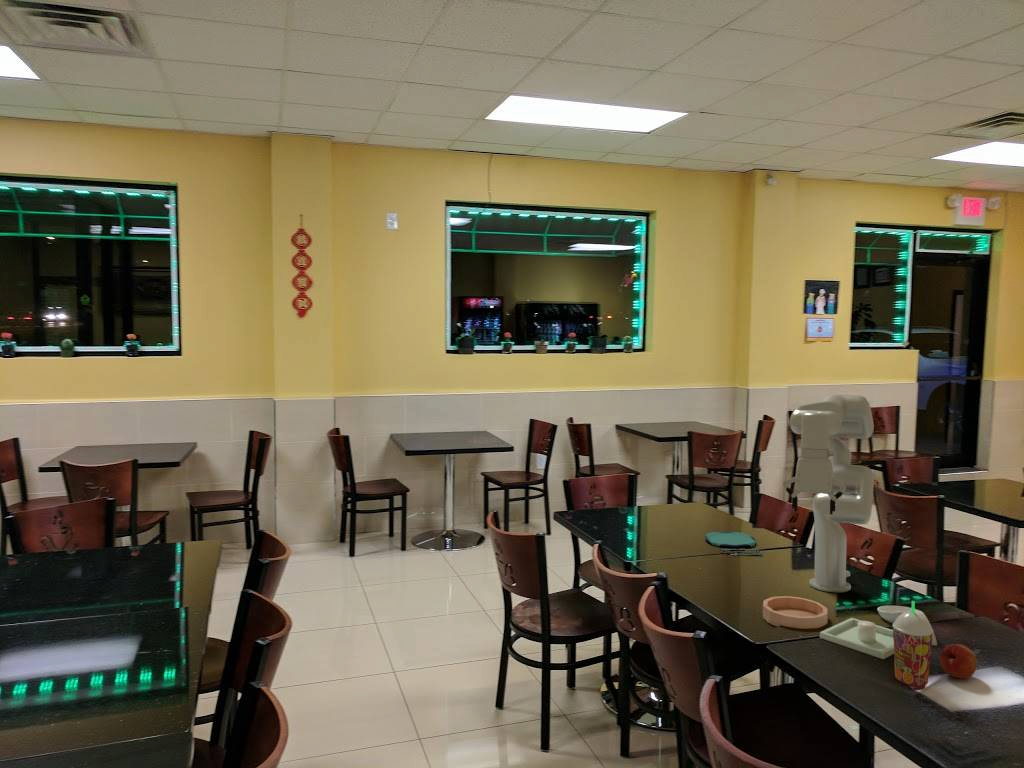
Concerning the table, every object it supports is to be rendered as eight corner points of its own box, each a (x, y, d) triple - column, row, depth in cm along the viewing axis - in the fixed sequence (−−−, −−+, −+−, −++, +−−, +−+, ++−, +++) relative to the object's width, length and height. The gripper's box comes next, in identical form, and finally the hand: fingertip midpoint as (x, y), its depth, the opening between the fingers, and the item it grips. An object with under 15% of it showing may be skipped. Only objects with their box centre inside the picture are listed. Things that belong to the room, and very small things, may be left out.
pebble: (862, 635, 195) (862, 619, 195) (878, 640, 191) (879, 624, 191) (854, 639, 192) (854, 623, 192) (870, 644, 189) (871, 628, 189)
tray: (851, 626, 204) (851, 617, 204) (914, 645, 190) (914, 636, 190) (819, 641, 194) (819, 632, 193) (883, 663, 180) (883, 653, 180)
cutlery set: (749, 536, 302) (749, 531, 301) (767, 558, 272) (767, 552, 272) (701, 536, 304) (701, 530, 303) (714, 557, 274) (714, 552, 274)
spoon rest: (870, 615, 213) (871, 591, 212) (912, 617, 211) (912, 593, 211) (906, 648, 189) (906, 622, 189) (952, 650, 188) (953, 623, 187)
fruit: (931, 670, 176) (931, 638, 176) (962, 668, 177) (963, 637, 176) (952, 685, 168) (953, 651, 168) (985, 683, 169) (986, 650, 168)
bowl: (784, 605, 221) (784, 592, 221) (838, 622, 207) (839, 608, 207) (751, 618, 210) (751, 604, 210) (806, 637, 196) (806, 622, 196)
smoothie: (883, 677, 172) (885, 595, 171) (916, 675, 173) (918, 594, 172) (905, 693, 164) (907, 608, 163) (940, 692, 165) (942, 607, 164)
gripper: (846, 454, 210) (845, 512, 210) (784, 451, 217) (782, 507, 217) (847, 457, 203) (846, 517, 204) (782, 453, 210) (781, 511, 211)
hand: (813, 512), depth 211 cm, fingers open, 9 cm apart
